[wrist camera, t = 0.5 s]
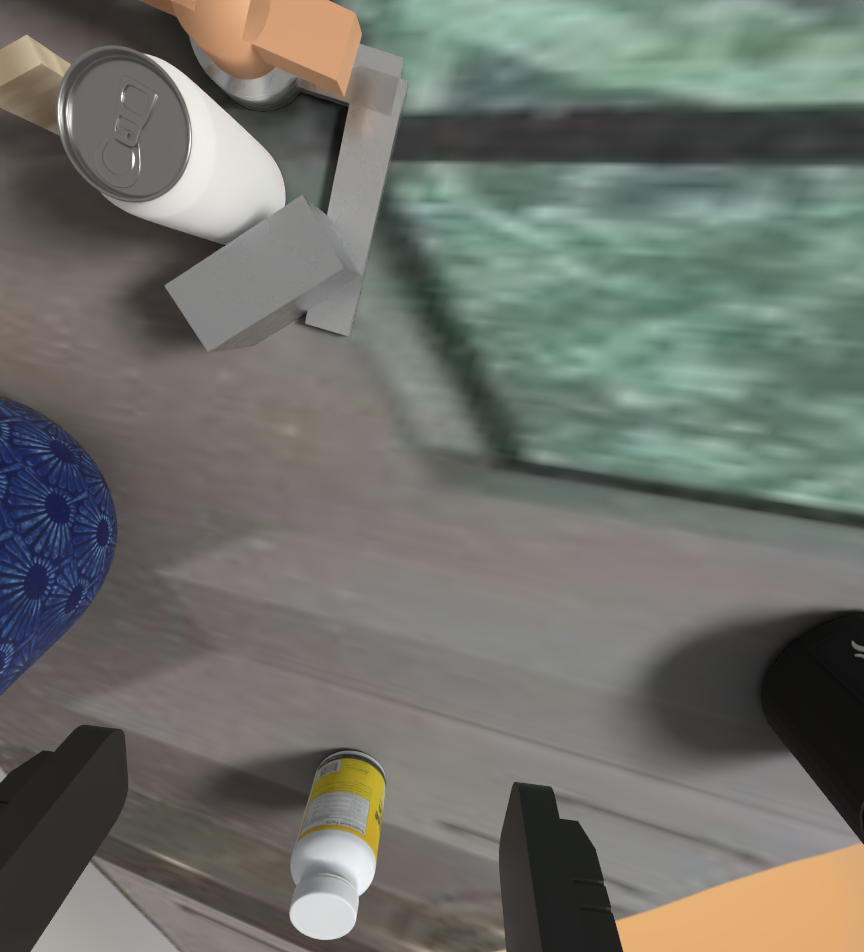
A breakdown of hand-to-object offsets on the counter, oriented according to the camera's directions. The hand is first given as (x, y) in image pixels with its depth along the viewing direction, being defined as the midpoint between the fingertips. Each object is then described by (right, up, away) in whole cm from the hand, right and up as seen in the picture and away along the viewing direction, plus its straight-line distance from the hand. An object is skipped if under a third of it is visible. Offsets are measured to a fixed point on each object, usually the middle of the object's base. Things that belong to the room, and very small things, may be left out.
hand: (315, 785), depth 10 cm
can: (-10, +24, +22) cm, 34 cm away
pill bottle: (-5, -21, +36) cm, 42 cm away
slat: (-18, +28, +21) cm, 39 cm away
